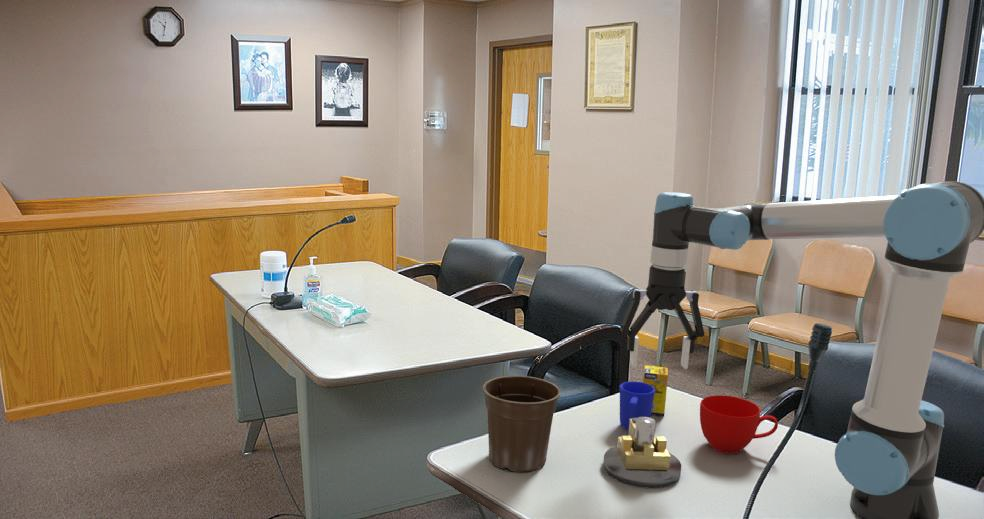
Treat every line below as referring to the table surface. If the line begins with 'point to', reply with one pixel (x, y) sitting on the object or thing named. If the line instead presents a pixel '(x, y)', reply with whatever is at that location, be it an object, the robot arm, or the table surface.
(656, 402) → the supplement box
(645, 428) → the round base with post
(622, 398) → the mug
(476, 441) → the table surface
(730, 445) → the ceramic cup
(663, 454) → the yellow stepped block
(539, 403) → the plant pot
